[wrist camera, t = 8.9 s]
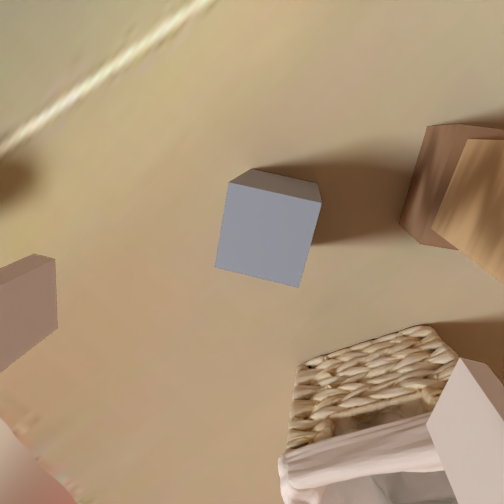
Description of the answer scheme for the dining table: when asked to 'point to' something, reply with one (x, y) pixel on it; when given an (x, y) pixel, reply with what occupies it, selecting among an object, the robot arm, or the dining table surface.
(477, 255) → the oak block
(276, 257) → the blue block
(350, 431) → the storage basket
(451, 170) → the base block
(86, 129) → the dining table surface
